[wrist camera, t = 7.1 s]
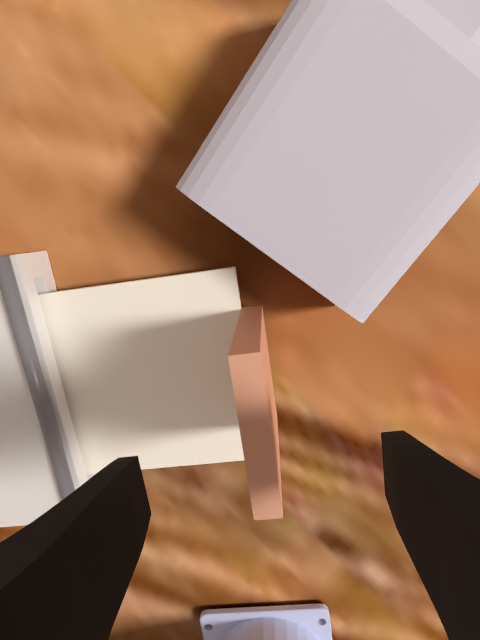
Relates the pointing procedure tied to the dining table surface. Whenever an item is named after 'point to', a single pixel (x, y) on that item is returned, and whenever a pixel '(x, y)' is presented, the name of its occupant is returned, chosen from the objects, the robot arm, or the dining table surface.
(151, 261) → the dining table surface
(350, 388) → the dining table surface
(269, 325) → the dining table surface
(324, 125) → the charger
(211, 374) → the cream boxy piece
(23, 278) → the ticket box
